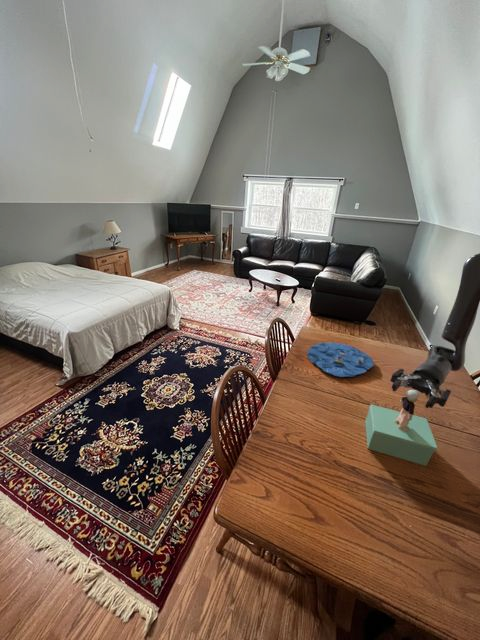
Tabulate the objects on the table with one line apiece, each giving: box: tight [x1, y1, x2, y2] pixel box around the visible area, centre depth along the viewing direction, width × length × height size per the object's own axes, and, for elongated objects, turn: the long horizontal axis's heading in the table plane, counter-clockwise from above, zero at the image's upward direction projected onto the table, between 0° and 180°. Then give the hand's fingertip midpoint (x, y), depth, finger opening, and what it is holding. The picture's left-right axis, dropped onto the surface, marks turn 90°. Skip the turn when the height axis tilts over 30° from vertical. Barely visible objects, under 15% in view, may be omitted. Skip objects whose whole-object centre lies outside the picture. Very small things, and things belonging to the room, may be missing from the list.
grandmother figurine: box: [395, 389, 420, 431], centre depth 78 cm, size 8×4×13 cm, turn 0°
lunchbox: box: [364, 407, 435, 467], centre depth 82 cm, size 16×12×7 cm
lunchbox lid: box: [369, 404, 438, 451], centre depth 81 cm, size 16×12×1 cm
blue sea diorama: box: [306, 341, 375, 378], centre depth 124 cm, size 30×30×5 cm
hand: (410, 396), depth 74 cm, fingers open, 8 cm apart
